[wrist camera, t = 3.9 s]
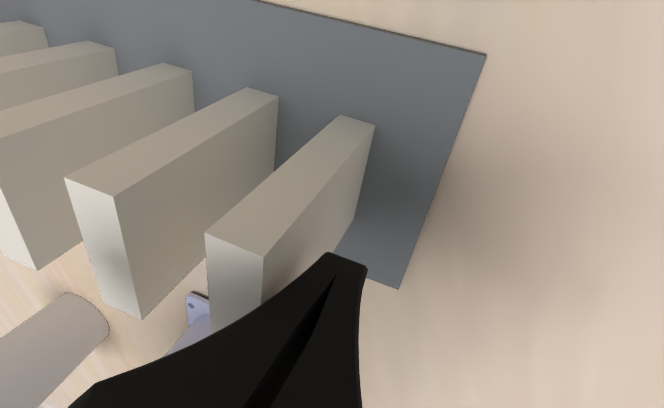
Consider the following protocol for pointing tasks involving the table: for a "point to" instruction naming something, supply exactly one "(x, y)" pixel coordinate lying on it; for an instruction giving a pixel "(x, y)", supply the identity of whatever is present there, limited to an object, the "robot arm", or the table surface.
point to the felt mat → (301, 91)
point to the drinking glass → (47, 350)
